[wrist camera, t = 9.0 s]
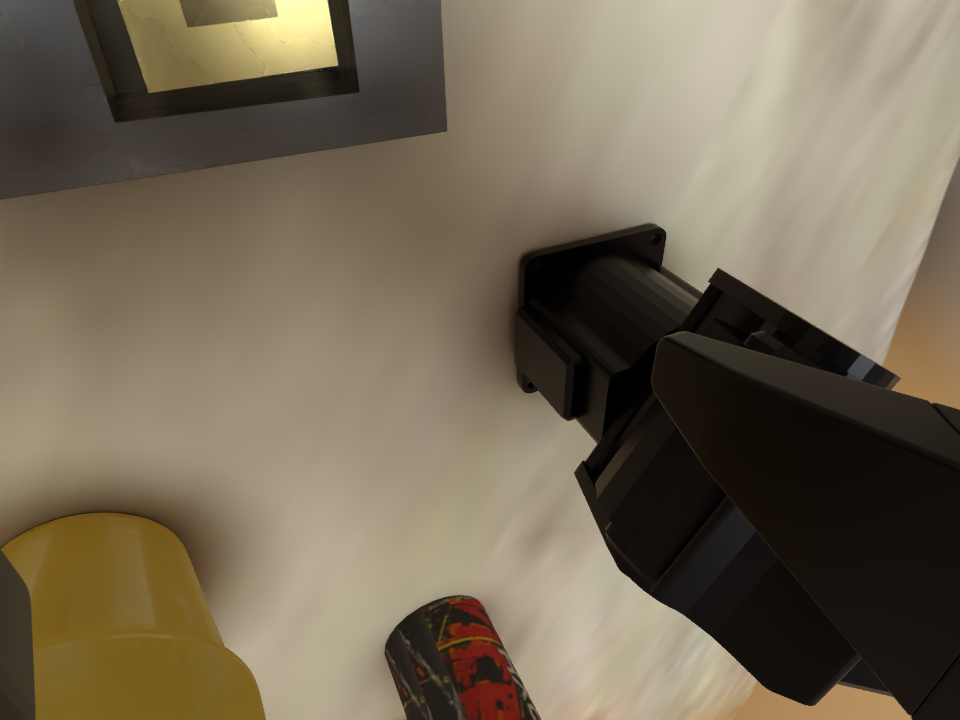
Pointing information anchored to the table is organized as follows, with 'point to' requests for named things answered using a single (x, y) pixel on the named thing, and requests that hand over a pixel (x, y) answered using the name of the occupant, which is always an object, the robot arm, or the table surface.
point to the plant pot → (125, 626)
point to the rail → (205, 99)
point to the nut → (226, 39)
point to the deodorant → (455, 665)
